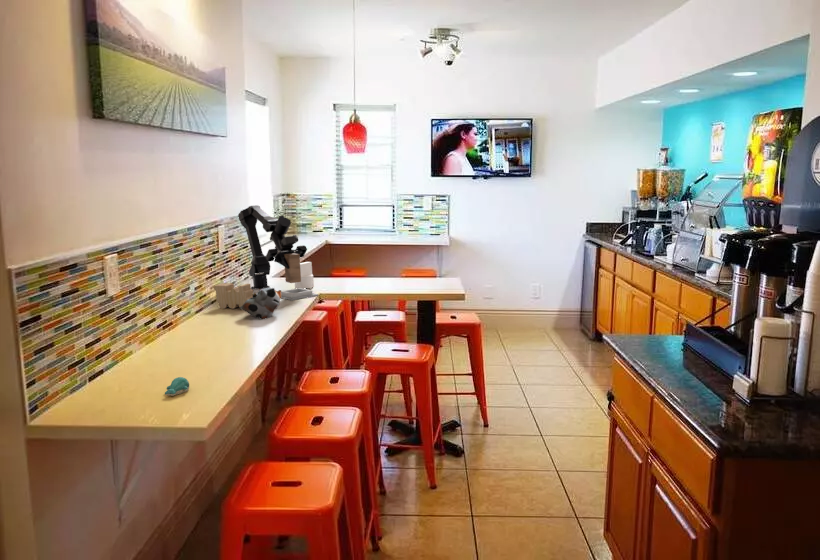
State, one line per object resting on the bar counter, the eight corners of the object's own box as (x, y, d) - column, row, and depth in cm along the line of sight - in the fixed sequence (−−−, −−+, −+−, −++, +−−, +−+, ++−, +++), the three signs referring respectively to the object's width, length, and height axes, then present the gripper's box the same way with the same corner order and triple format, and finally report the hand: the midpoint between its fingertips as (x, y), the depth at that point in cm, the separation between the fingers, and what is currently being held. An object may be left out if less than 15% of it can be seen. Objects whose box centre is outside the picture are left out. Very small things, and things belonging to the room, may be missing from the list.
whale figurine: (195, 389, 168) (193, 375, 167) (179, 399, 161) (178, 384, 160) (175, 388, 169) (174, 374, 169) (158, 398, 162) (157, 383, 162)
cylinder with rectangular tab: (304, 285, 317) (303, 261, 315) (317, 286, 312) (316, 262, 310) (291, 288, 310) (289, 263, 308) (304, 289, 305) (303, 265, 303)
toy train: (249, 310, 263) (247, 286, 262) (214, 308, 269) (213, 285, 267) (257, 307, 268) (255, 283, 267) (222, 305, 274) (221, 282, 272)
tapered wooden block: (285, 281, 288) (284, 254, 286) (295, 280, 291) (293, 253, 289) (291, 283, 284) (289, 255, 282) (301, 281, 287) (299, 254, 285)
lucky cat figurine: (254, 311, 260) (269, 280, 259) (277, 325, 255) (292, 294, 255) (233, 308, 246) (248, 276, 245) (256, 322, 241) (272, 290, 241)
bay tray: (275, 296, 290) (274, 291, 290) (301, 292, 300) (301, 286, 299) (291, 300, 280) (291, 295, 280) (318, 295, 289) (317, 290, 289)
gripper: (267, 231, 281) (280, 258, 274) (303, 227, 293) (318, 253, 286) (259, 247, 288) (273, 274, 282) (296, 243, 300) (309, 269, 293)
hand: (294, 267), depth 286 cm, fingers closed on tapered wooden block, 5 cm apart
